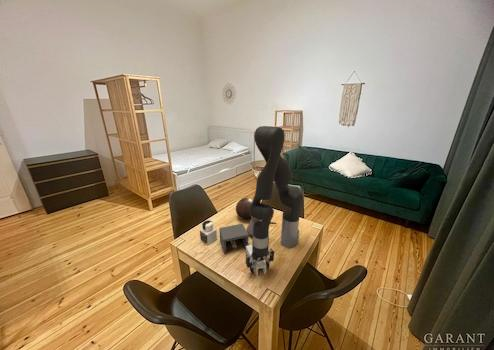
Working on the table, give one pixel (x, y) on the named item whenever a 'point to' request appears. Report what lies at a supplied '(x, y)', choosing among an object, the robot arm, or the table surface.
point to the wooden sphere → (244, 208)
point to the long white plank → (259, 264)
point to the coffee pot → (250, 226)
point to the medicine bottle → (208, 232)
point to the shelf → (233, 235)
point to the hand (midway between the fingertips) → (259, 269)
